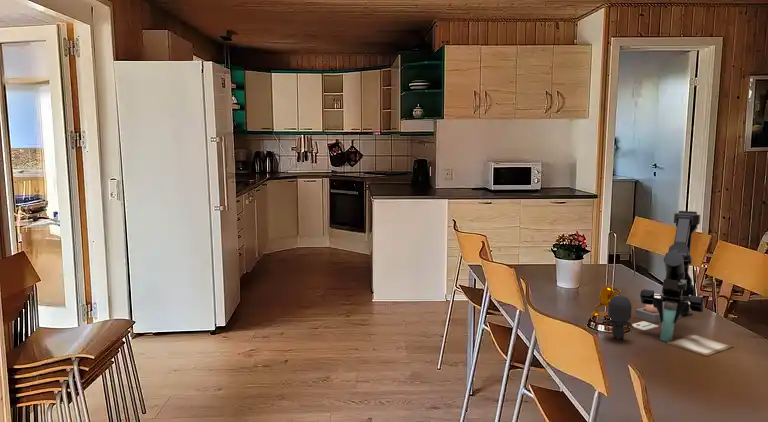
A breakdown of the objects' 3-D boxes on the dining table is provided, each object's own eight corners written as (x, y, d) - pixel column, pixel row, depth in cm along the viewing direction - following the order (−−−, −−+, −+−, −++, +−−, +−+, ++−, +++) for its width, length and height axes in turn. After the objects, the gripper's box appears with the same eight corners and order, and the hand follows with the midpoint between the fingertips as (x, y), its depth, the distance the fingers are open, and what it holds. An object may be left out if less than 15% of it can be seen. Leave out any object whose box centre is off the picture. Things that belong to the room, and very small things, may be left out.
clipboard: (694, 335, 193) (694, 333, 193) (733, 347, 182) (733, 345, 182) (666, 343, 186) (666, 342, 186) (706, 356, 175) (706, 355, 175)
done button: (650, 311, 214) (650, 302, 213) (660, 315, 210) (661, 305, 210) (642, 313, 212) (643, 304, 211) (653, 317, 208) (653, 307, 207)
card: (643, 321, 207) (643, 320, 207) (658, 326, 202) (658, 325, 202) (629, 325, 203) (629, 324, 203) (644, 330, 198) (644, 329, 198)
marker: (664, 336, 192) (669, 299, 189) (674, 341, 188) (680, 303, 186) (657, 338, 190) (662, 301, 187) (667, 342, 186) (673, 305, 184)
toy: (632, 337, 192) (634, 294, 190) (634, 345, 185) (636, 300, 183) (603, 334, 195) (605, 291, 193) (604, 342, 188) (606, 297, 186)
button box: (648, 313, 216) (649, 306, 216) (668, 319, 210) (668, 311, 209) (635, 317, 212) (635, 309, 212) (654, 323, 206) (654, 315, 205)
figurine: (622, 321, 208) (623, 289, 206) (590, 319, 211) (592, 287, 209) (619, 314, 216) (621, 283, 214) (589, 312, 219) (590, 281, 217)
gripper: (642, 266, 194) (635, 305, 186) (705, 273, 184) (700, 315, 176) (645, 283, 201) (638, 322, 194) (705, 291, 191) (700, 332, 184)
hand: (668, 322), depth 186 cm, fingers closed on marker, 4 cm apart
